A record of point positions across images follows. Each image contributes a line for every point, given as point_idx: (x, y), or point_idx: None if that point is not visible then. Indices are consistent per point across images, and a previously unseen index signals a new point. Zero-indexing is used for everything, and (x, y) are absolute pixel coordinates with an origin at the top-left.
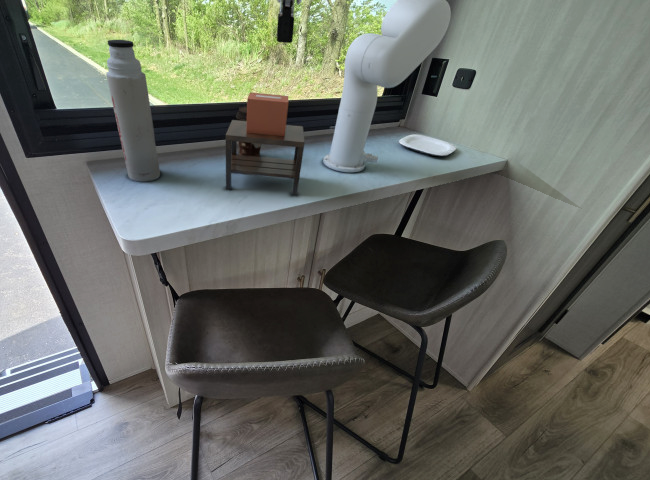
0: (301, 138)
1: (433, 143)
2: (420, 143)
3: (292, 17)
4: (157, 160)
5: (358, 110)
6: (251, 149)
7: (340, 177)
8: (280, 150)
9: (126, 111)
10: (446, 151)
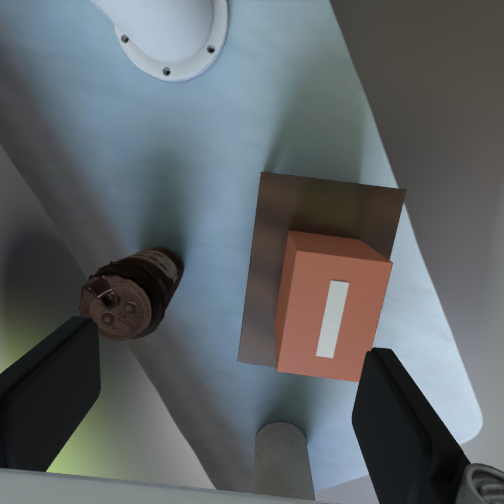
0: (376, 194)
1: None
2: None
3: (483, 470)
4: (284, 444)
5: None
6: (179, 273)
7: (257, 51)
8: (104, 190)
9: None
10: None
